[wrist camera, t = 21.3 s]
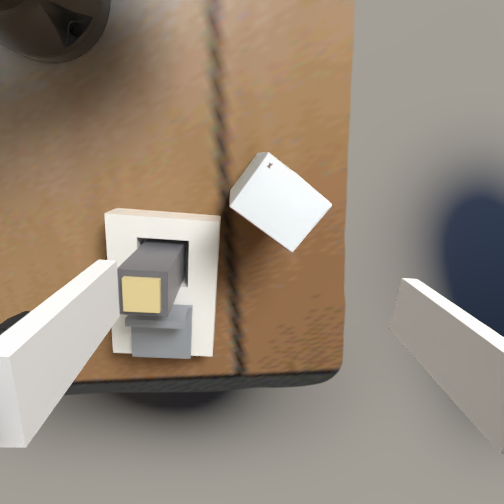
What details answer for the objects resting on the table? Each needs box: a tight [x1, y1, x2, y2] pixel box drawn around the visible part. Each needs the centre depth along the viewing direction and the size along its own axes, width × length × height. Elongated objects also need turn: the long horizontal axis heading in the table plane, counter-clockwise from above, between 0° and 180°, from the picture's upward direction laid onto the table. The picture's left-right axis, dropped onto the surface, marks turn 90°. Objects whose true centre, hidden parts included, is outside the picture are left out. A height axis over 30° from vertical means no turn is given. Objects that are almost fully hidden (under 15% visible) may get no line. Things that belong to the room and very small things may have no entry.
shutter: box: [125, 304, 193, 359], centre depth 40 cm, size 8×8×4 cm
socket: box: [104, 208, 221, 356], centre depth 42 cm, size 20×14×4 cm
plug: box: [117, 238, 186, 317], centre depth 36 cm, size 5×5×13 cm
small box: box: [229, 153, 332, 253], centre depth 35 cm, size 8×6×13 cm
